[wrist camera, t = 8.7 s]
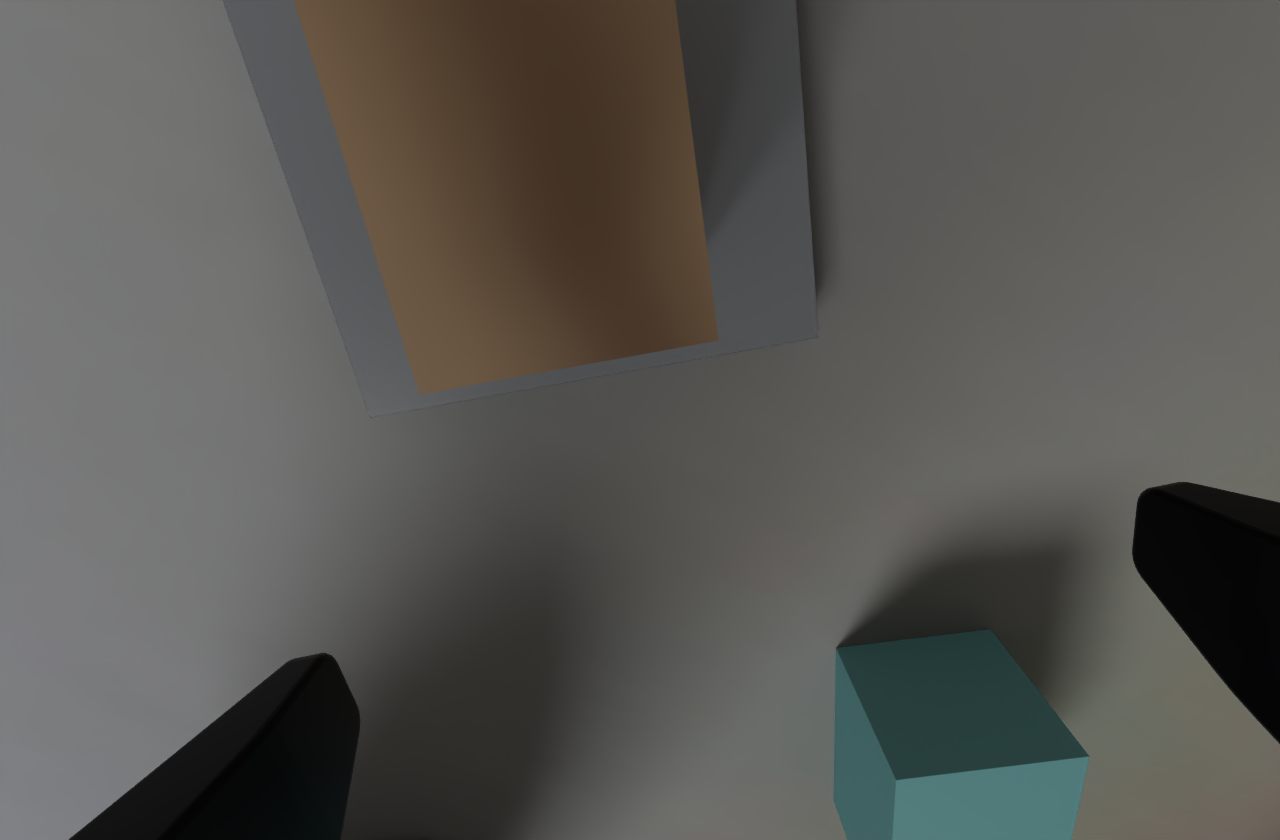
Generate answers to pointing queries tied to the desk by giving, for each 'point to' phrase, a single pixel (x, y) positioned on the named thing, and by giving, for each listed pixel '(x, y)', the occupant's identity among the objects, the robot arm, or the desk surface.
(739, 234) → the baseplate
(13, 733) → the desk surface
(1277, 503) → the robot arm
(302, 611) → the desk surface
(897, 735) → the teal brick
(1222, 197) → the desk surface
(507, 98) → the walnut brick
